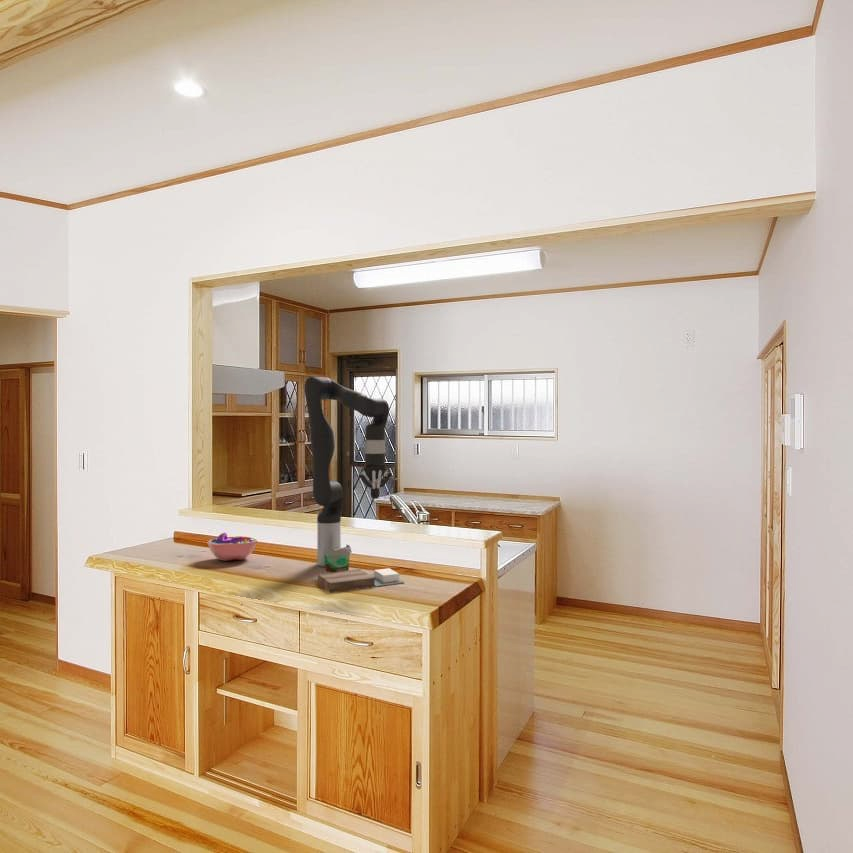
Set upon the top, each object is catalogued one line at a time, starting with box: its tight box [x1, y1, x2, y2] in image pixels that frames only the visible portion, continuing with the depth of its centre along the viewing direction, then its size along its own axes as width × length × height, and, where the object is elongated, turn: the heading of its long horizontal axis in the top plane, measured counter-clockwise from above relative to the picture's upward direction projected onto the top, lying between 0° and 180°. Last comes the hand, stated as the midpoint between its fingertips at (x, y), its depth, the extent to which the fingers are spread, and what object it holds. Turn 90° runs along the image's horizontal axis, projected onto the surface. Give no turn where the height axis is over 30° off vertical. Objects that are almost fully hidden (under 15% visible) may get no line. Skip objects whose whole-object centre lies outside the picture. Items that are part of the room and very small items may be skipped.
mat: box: [368, 573, 405, 588], centre depth 227 cm, size 16×11×1 cm
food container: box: [323, 544, 352, 573], centre depth 235 cm, size 12×6×10 cm, turn 139°
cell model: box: [206, 532, 258, 562], centre depth 259 cm, size 17×20×11 cm
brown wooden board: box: [317, 568, 375, 593], centre depth 221 cm, size 14×16×3 cm
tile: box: [373, 567, 400, 583], centre depth 227 cm, size 9×6×2 cm, turn 26°
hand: (374, 498), depth 233 cm, fingers closed
